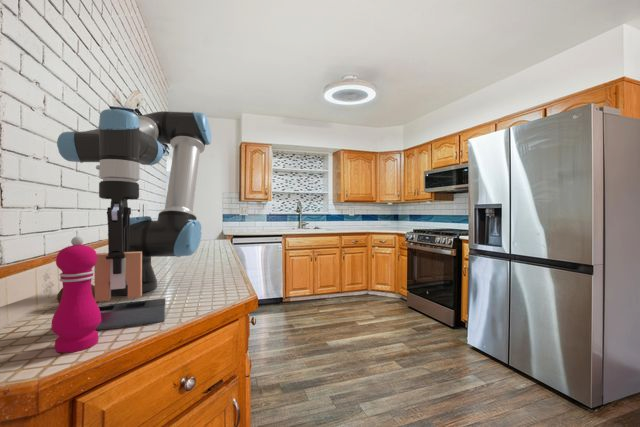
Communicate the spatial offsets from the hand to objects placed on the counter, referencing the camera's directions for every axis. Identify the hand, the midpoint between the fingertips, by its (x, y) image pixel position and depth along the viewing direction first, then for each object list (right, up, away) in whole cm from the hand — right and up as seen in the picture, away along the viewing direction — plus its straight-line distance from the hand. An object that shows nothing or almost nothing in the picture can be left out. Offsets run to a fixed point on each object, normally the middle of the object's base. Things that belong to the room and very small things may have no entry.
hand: (119, 286), depth 69 cm
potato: (-19, -8, +12) cm, 24 cm away
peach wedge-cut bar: (0, -3, 0) cm, 3 cm away
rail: (0, -8, 0) cm, 8 cm away
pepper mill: (0, -8, -12) cm, 15 cm away
